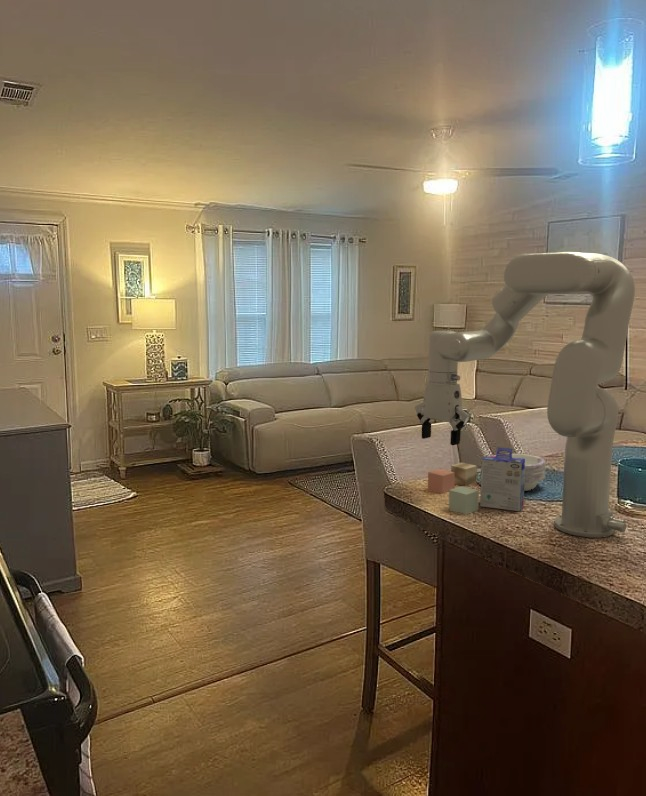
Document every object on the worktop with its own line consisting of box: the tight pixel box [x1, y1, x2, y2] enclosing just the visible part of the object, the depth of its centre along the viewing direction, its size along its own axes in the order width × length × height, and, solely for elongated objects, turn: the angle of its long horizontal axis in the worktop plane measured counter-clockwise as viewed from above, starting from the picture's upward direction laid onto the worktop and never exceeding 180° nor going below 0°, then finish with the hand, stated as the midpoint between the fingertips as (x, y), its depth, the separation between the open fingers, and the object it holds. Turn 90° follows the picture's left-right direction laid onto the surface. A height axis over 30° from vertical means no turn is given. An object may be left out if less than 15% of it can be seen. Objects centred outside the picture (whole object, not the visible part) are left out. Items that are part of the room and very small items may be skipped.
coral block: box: [427, 468, 455, 495], centre depth 170 cm, size 5×5×5 cm
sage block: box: [448, 485, 480, 515], centre depth 154 cm, size 5×5×5 cm
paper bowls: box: [492, 453, 546, 492], centre depth 172 cm, size 15×15×8 cm
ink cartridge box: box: [479, 447, 525, 512], centre depth 156 cm, size 10×6×14 cm, turn 65°
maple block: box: [450, 462, 478, 487], centre depth 177 cm, size 5×5×5 cm
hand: (440, 441), depth 169 cm, fingers open, 9 cm apart
